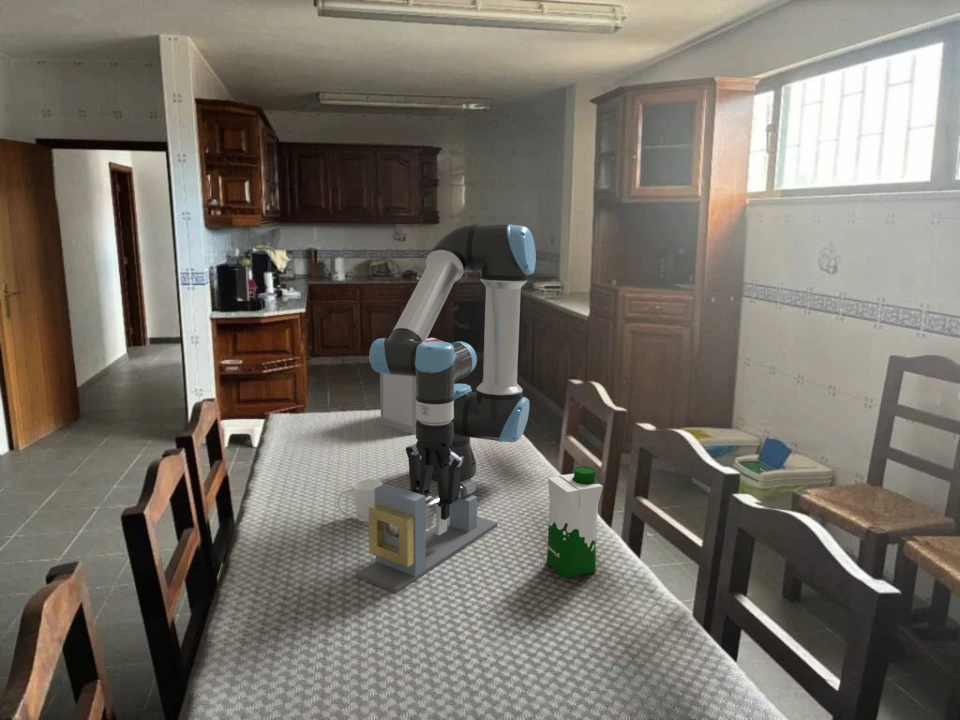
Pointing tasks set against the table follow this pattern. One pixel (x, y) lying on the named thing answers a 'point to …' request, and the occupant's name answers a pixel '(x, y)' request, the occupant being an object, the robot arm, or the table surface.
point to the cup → (362, 497)
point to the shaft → (465, 489)
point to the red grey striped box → (399, 400)
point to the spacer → (406, 534)
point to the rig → (424, 537)
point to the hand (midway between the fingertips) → (434, 529)
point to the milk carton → (573, 522)
